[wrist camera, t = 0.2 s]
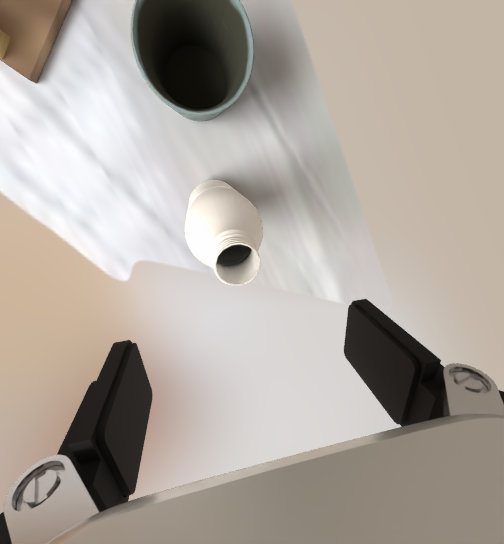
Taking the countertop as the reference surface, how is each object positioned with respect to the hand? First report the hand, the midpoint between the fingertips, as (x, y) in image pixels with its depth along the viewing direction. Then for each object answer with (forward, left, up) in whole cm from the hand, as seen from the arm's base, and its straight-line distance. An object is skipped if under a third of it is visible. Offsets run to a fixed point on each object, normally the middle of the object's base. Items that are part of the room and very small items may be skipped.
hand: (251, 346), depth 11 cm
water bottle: (-1, -1, -31) cm, 31 cm away
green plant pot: (-12, -11, -31) cm, 35 cm away
